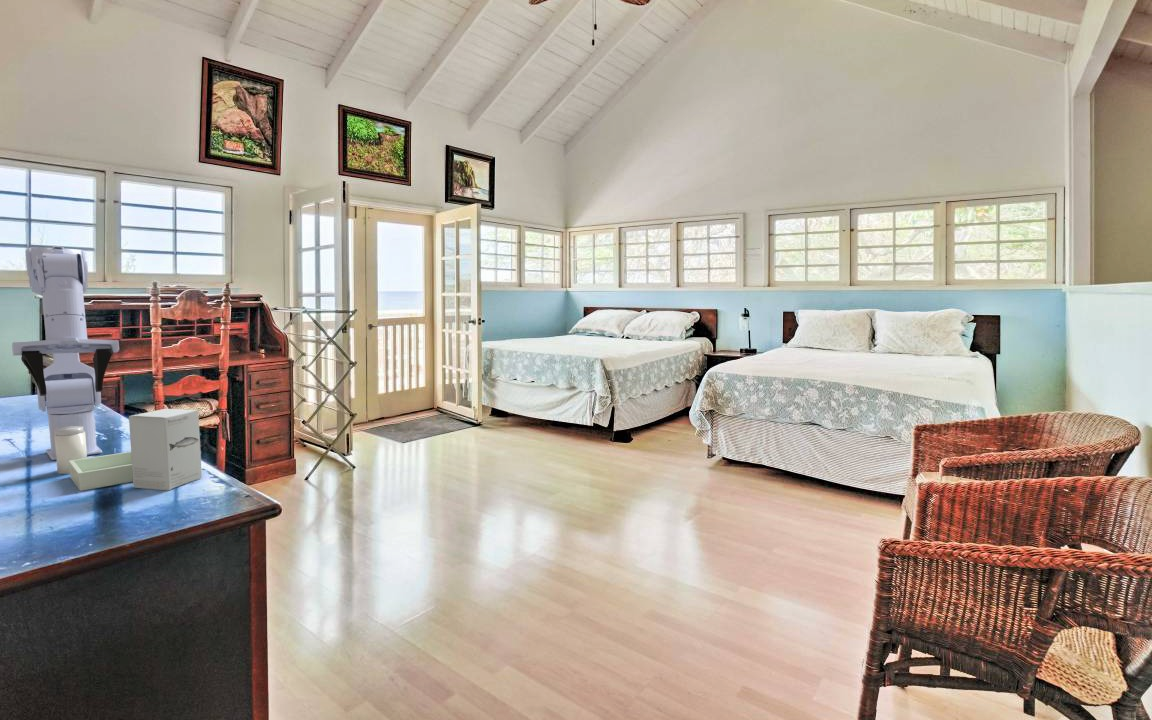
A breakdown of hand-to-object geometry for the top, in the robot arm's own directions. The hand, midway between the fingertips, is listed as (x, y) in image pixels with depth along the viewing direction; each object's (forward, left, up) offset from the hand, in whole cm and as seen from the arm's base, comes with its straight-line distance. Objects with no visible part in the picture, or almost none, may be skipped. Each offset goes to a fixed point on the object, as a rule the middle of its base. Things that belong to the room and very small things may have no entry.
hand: (72, 393), depth 108 cm
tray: (+4, +4, -15) cm, 17 cm away
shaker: (-6, 0, -15) cm, 17 cm away
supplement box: (+15, +10, -16) cm, 24 cm away
